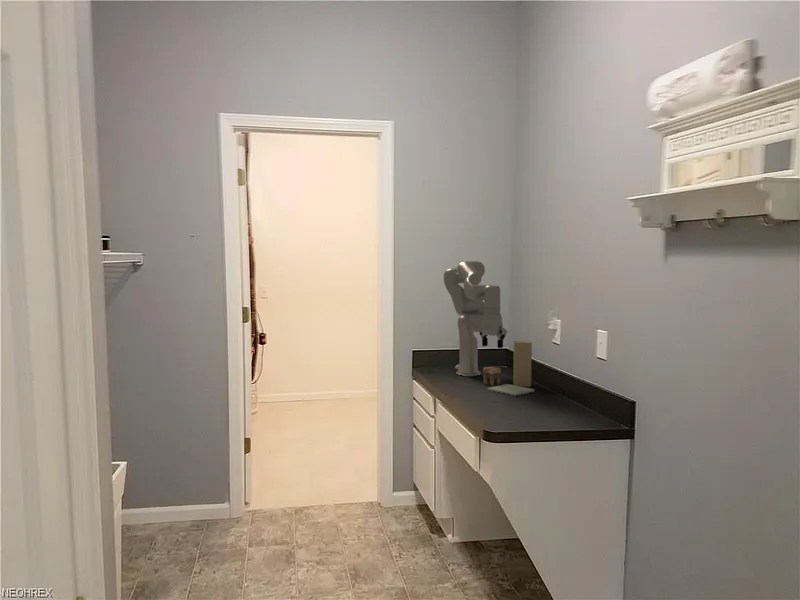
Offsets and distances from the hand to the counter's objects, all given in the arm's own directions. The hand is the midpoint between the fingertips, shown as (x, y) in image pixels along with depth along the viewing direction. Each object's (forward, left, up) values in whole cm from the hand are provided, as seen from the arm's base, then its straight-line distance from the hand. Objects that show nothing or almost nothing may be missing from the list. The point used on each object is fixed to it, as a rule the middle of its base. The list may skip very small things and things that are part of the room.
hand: (492, 346), depth 280 cm
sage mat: (+15, -4, -18) cm, 24 cm away
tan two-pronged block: (0, 0, -18) cm, 18 cm away
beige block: (+10, +10, -19) cm, 23 cm away
